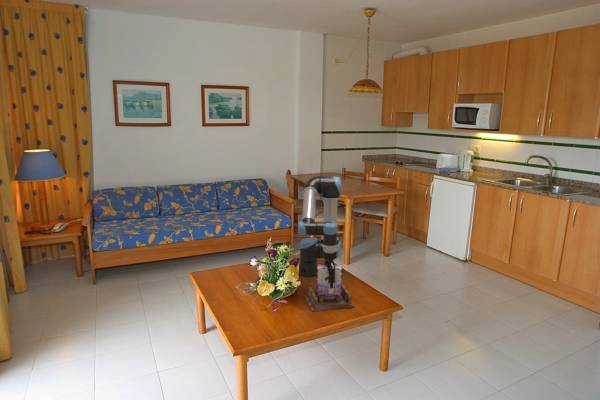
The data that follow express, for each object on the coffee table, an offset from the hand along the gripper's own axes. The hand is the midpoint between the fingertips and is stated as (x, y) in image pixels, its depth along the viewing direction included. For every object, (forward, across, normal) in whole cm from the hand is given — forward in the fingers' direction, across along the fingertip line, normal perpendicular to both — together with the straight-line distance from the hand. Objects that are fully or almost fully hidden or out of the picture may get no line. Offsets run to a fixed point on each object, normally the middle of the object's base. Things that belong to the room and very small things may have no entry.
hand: (329, 290), depth 223 cm
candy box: (+3, 0, 0) cm, 3 cm away
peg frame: (+7, 0, 0) cm, 7 cm away
